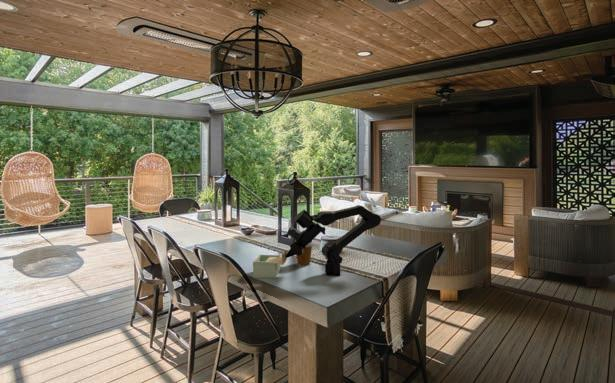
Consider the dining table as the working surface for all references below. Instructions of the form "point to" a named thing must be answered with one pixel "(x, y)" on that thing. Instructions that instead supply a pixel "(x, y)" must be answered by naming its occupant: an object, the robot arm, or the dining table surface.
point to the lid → (278, 259)
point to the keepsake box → (265, 267)
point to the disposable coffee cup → (305, 255)
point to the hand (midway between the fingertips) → (286, 256)
